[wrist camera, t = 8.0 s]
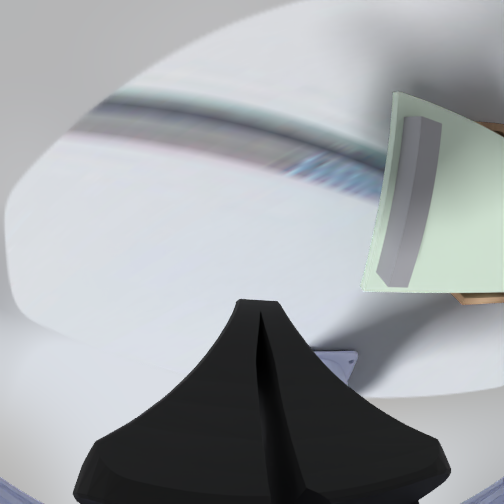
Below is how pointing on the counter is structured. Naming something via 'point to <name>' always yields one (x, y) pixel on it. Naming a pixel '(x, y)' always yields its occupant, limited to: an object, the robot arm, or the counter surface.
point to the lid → (438, 205)
